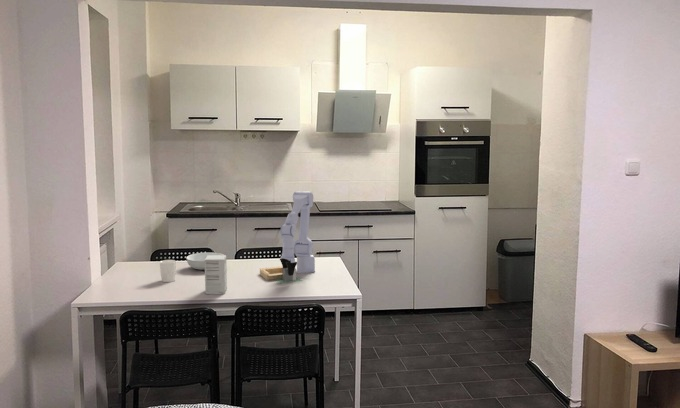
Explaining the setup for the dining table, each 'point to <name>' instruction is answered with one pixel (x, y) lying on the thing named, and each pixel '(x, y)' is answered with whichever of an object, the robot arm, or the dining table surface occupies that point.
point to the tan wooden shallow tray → (271, 272)
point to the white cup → (168, 270)
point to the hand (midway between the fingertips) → (288, 273)
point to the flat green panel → (287, 281)
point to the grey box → (286, 276)
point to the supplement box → (215, 274)
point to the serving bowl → (199, 260)
